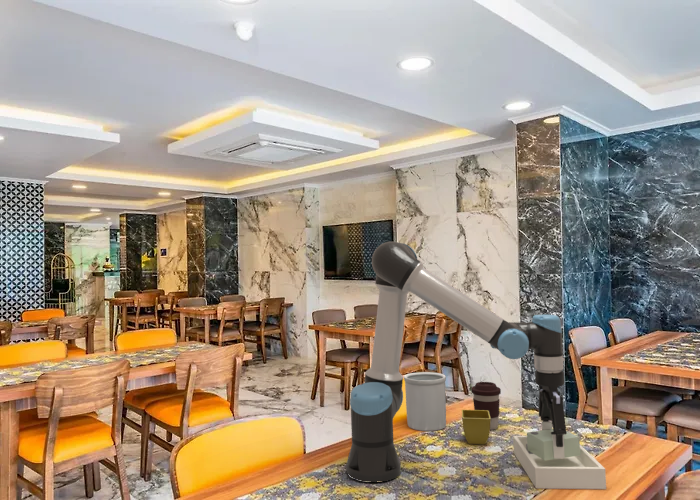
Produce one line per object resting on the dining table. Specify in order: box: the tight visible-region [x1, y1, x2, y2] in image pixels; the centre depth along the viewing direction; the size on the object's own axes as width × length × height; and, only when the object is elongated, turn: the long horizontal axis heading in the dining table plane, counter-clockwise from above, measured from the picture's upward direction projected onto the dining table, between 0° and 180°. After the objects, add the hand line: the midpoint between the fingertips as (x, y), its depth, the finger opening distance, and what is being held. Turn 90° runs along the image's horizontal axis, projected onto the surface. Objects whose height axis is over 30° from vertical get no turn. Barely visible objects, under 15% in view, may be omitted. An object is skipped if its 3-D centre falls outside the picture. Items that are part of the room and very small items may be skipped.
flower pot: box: [461, 409, 491, 445], centre depth 159 cm, size 9×9×9 cm
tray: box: [512, 435, 607, 490], centre depth 136 cm, size 17×24×5 cm
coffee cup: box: [470, 381, 502, 431], centre depth 173 cm, size 10×10×15 cm
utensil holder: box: [403, 371, 447, 432], centre depth 177 cm, size 15×15×18 cm
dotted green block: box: [526, 428, 581, 460], centre depth 138 cm, size 11×8×5 cm
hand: (553, 451), depth 138 cm, fingers closed on dotted green block, 9 cm apart
